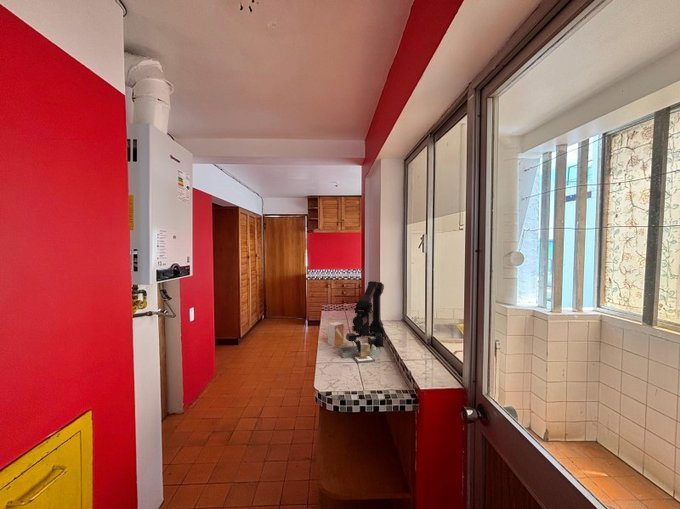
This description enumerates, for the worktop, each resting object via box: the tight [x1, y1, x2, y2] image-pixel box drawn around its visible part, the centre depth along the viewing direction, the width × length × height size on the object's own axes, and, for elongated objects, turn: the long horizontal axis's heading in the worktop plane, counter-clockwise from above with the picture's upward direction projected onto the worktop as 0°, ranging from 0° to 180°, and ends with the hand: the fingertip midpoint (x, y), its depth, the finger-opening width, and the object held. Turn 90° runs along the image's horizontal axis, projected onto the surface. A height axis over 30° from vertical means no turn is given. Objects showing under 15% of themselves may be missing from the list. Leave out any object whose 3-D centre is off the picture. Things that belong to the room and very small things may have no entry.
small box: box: [327, 321, 345, 347], centre depth 193 cm, size 8×6×13 cm
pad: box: [352, 355, 376, 364], centre depth 165 cm, size 10×8×1 cm
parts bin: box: [337, 345, 380, 358], centre depth 177 cm, size 22×11×2 cm, turn 106°
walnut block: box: [358, 341, 371, 357], centre depth 165 cm, size 5×5×6 cm
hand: (363, 352), depth 165 cm, fingers closed on walnut block, 5 cm apart
